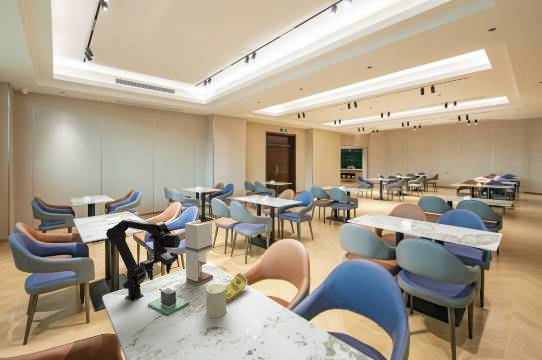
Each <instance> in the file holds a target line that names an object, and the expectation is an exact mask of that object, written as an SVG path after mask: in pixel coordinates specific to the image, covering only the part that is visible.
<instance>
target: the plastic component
mask: <svg viewBox="0 0 542 360" xmlns="http://www.w3.org/2000/svg"><path fill="white" fill-rule="evenodd" d="M247 284H248V279H247V277H246V276H245V275H243V273H241V272H238V273H237V274H236V275H235V276H234V277H233V279H231V281H230V282H228V283H227V284H226V285H224V286H225V287H226V303H229V302H230V301H232V300H233V299H234V298H236V297H237V296H238V295H239V294H240V293H241V292H242V290H243V289H245V287H246V286H247Z"/></svg>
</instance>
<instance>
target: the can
mask: <svg viewBox="0 0 542 360" xmlns="http://www.w3.org/2000/svg"><path fill="white" fill-rule="evenodd" d="M225 286H226V285H224V284H219V283H218V284H216V283H215V284H211V285H209V286H207V287H206V289H205V290H206V316H207V317H208V318H213V319H216V318H221V317H224V316H225V315H226V314H227V302H226V287H225Z"/></svg>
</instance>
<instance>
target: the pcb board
mask: <svg viewBox="0 0 542 360" xmlns="http://www.w3.org/2000/svg"><path fill="white" fill-rule="evenodd" d="M147 305H148V306H149V307H150V308H153V309H155V310H156V311H159V312H160V313H163V314H164V315H166V316H169V315H172V314H173V313H175V312H177V311H179V310H181V309H182V308H185V307H186V306H187V305H190V302H189V301H188V300H186V299H183V298H181V297H178V296H176V303H175V304H173V305H171V306H167V305H165V304H163V303H161V297H158V298H156V299H155V300H153V301H150V302H148V303H147Z"/></svg>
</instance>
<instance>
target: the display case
mask: <svg viewBox="0 0 542 360" xmlns="http://www.w3.org/2000/svg"><path fill="white" fill-rule="evenodd" d="M184 239H185V240H184V241H185V277H186V278H185V279H186V280H185V282H188V283H190V284H193V285H195V286H201V285H202V284H204V283H206V282H208V281H210V280H212V279H214V275H213V274H210V273H208V272H205V271H203V267H202V266H205V265H206V264H207V253H208V252H211V251H212V250H213V222H212V221H208V222H204V223H202V220H201V219H198V220H194V221H189V222H185V223H184Z"/></svg>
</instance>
